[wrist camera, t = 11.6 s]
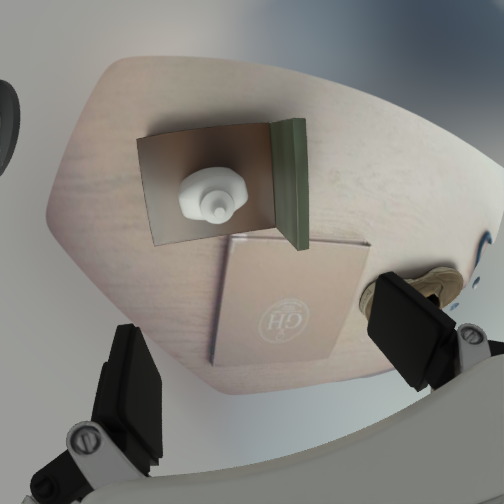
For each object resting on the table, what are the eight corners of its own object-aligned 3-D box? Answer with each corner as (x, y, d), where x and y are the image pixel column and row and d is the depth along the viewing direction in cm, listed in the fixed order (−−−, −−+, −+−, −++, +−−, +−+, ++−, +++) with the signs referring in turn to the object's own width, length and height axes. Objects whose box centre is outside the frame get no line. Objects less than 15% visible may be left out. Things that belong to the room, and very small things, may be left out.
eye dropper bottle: (187, 157, 27) (185, 169, 16) (239, 170, 28) (270, 191, 17) (177, 197, 28) (169, 235, 17) (227, 209, 30) (251, 252, 19)
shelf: (158, 232, 34) (145, 275, 23) (144, 139, 29) (119, 138, 18) (273, 215, 36) (309, 249, 26) (267, 124, 31) (305, 118, 21)
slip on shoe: (458, 264, 50) (484, 281, 42) (442, 305, 55) (465, 324, 47) (368, 266, 43) (399, 292, 35) (351, 320, 48) (375, 350, 40)
